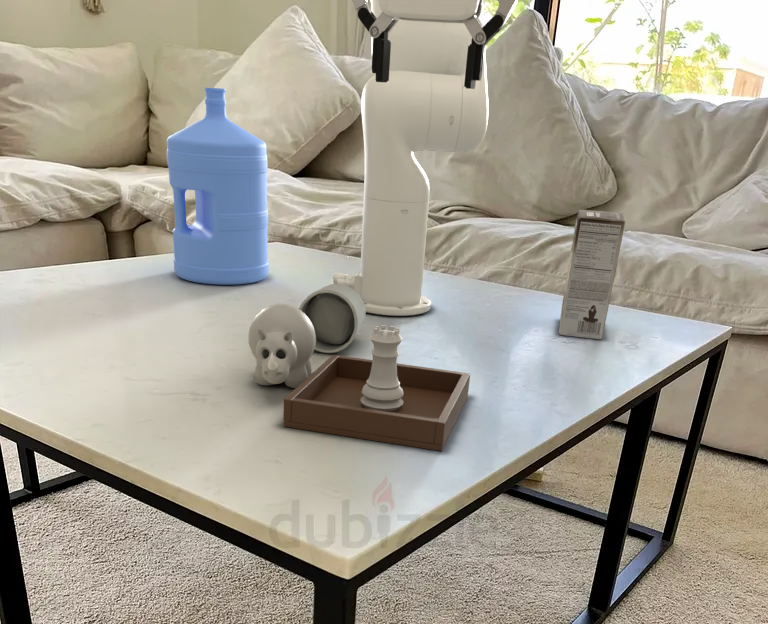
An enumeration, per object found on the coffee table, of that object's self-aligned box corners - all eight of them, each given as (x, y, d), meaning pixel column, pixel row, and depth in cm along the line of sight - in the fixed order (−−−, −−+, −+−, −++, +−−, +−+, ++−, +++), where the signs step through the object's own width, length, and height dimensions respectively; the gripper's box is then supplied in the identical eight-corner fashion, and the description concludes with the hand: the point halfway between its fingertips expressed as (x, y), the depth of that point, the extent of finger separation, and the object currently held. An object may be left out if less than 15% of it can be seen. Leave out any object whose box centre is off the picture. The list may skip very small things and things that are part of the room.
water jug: (254, 265, 141) (251, 90, 128) (280, 284, 129) (279, 92, 116) (166, 267, 135) (153, 83, 122) (184, 287, 123) (172, 85, 110)
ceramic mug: (367, 338, 103) (369, 279, 100) (356, 356, 96) (358, 293, 93) (289, 332, 105) (288, 273, 101) (272, 349, 97) (271, 286, 94)
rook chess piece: (358, 397, 82) (362, 321, 78) (401, 398, 82) (406, 323, 79) (361, 412, 78) (365, 333, 74) (405, 413, 78) (411, 335, 75)
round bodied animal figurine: (234, 406, 79) (231, 322, 75) (256, 369, 90) (255, 294, 86) (304, 411, 79) (305, 328, 75) (318, 374, 90) (320, 299, 86)
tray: (283, 426, 75) (283, 399, 74) (332, 378, 89) (332, 354, 87) (441, 451, 72) (444, 423, 71) (467, 397, 86) (470, 373, 84)
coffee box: (558, 320, 119) (577, 208, 112) (601, 324, 118) (622, 212, 111) (558, 335, 111) (578, 216, 104) (603, 340, 110) (627, 220, 103)
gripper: (344, -127, 74) (338, 79, 82) (526, -124, 71) (501, 91, 79) (365, -110, 80) (357, 80, 89) (533, -106, 77) (509, 91, 85)
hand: (425, 85), depth 84 cm, fingers open, 9 cm apart
